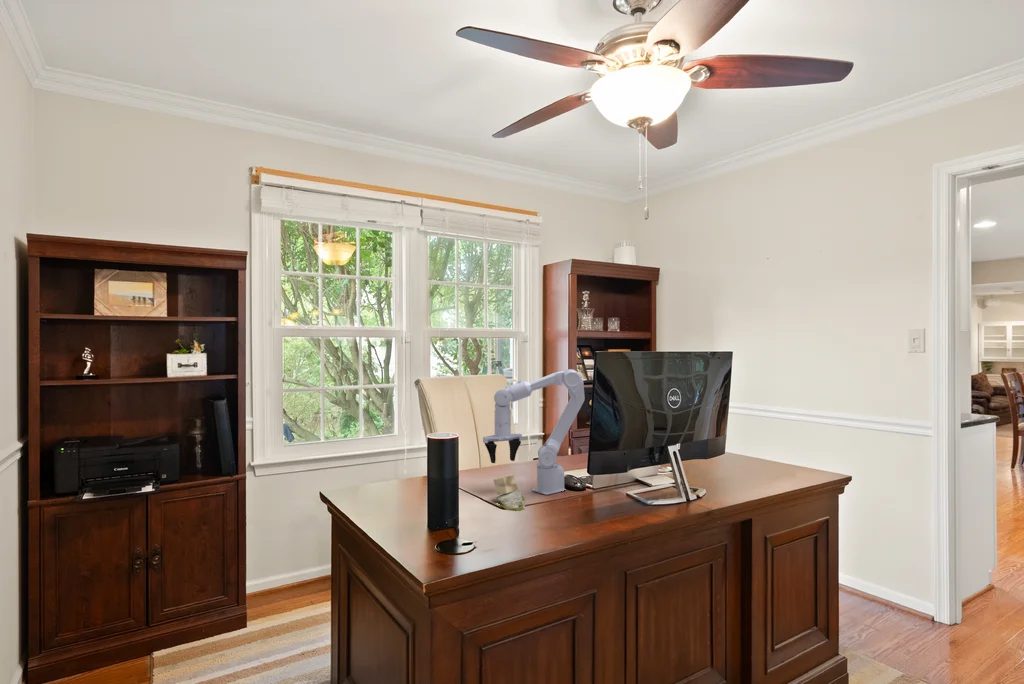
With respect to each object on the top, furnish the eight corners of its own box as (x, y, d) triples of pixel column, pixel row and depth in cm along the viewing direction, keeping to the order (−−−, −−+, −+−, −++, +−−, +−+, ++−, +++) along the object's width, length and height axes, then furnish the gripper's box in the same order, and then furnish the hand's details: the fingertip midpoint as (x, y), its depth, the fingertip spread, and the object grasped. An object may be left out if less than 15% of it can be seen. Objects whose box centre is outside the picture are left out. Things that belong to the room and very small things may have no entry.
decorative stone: (492, 495, 197) (492, 484, 197) (521, 494, 198) (521, 483, 198) (494, 514, 174) (494, 501, 174) (527, 512, 175) (527, 500, 175)
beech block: (507, 490, 190) (503, 476, 191) (517, 489, 186) (513, 474, 187) (496, 494, 186) (493, 479, 187) (507, 493, 183) (503, 478, 184)
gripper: (489, 425, 192) (489, 465, 192) (526, 423, 199) (526, 461, 199) (480, 423, 198) (480, 462, 198) (516, 420, 205) (516, 458, 205)
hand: (502, 461), depth 199 cm, fingers open, 7 cm apart
